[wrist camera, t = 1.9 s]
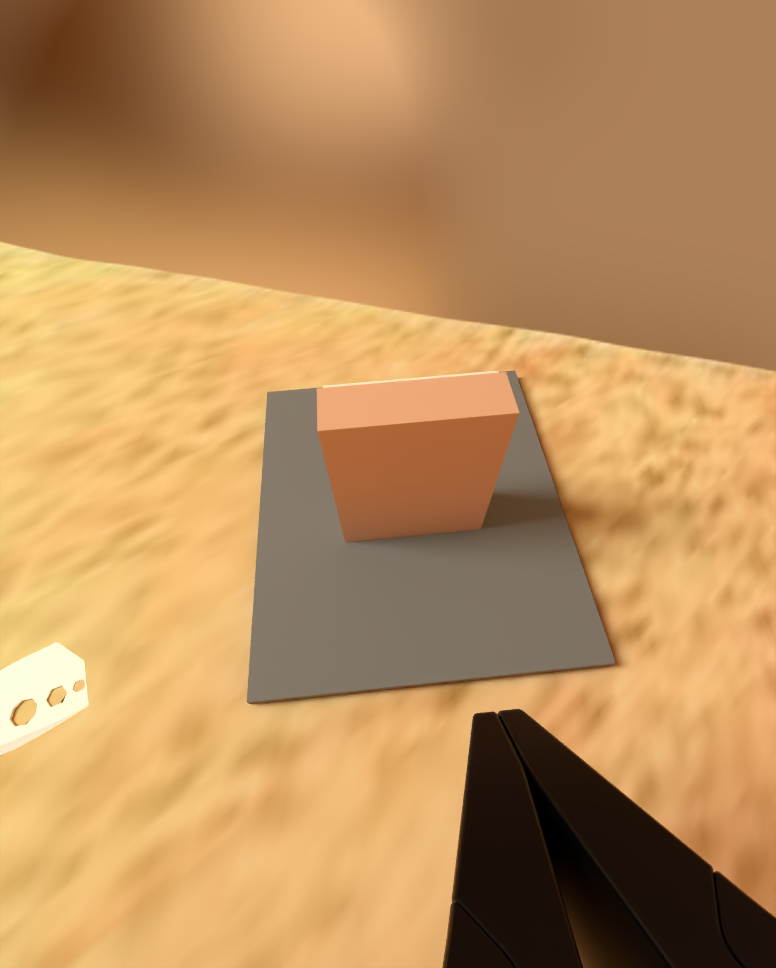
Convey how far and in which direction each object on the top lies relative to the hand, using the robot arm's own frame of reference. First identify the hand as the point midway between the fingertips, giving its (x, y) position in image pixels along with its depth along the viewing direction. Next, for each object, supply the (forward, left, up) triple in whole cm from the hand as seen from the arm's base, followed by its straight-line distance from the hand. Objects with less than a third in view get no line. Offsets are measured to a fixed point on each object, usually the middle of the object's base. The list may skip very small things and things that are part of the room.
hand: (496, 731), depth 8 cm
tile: (+10, +4, -12) cm, 16 cm away
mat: (+11, +4, -13) cm, 17 cm away
